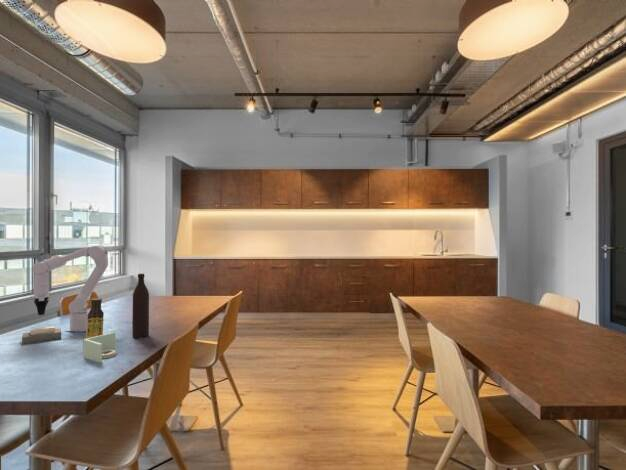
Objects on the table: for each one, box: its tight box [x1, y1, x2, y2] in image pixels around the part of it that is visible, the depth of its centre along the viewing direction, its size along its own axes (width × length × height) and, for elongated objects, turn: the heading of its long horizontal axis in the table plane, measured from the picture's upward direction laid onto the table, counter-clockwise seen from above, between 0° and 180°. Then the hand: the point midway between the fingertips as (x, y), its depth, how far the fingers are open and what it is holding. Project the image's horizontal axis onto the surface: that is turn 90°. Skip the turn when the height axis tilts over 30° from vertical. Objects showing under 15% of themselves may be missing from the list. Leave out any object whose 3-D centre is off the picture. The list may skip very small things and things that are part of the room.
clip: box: [29, 325, 56, 335], centre depth 158 cm, size 9×3×4 cm, turn 129°
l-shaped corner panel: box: [82, 331, 117, 364], centre depth 137 cm, size 12×12×8 cm
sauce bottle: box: [85, 297, 105, 339], centre depth 152 cm, size 6×6×20 cm
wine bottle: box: [131, 273, 150, 339], centre depth 163 cm, size 7×7×30 cm
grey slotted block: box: [21, 327, 62, 345], centre depth 158 cm, size 14×8×3 cm, turn 129°
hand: (41, 313), depth 169 cm, fingers open, 7 cm apart
